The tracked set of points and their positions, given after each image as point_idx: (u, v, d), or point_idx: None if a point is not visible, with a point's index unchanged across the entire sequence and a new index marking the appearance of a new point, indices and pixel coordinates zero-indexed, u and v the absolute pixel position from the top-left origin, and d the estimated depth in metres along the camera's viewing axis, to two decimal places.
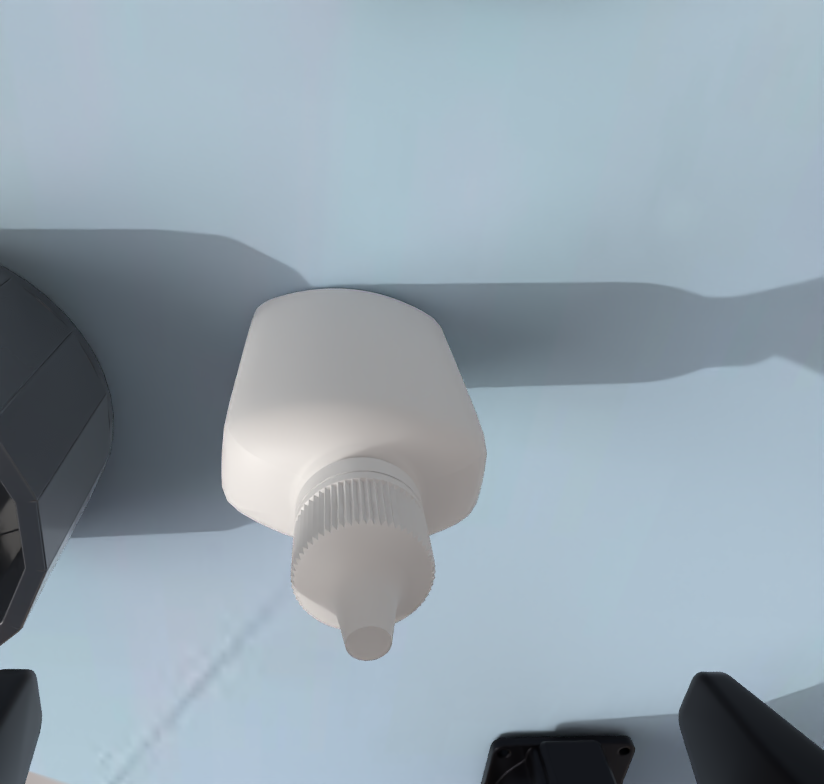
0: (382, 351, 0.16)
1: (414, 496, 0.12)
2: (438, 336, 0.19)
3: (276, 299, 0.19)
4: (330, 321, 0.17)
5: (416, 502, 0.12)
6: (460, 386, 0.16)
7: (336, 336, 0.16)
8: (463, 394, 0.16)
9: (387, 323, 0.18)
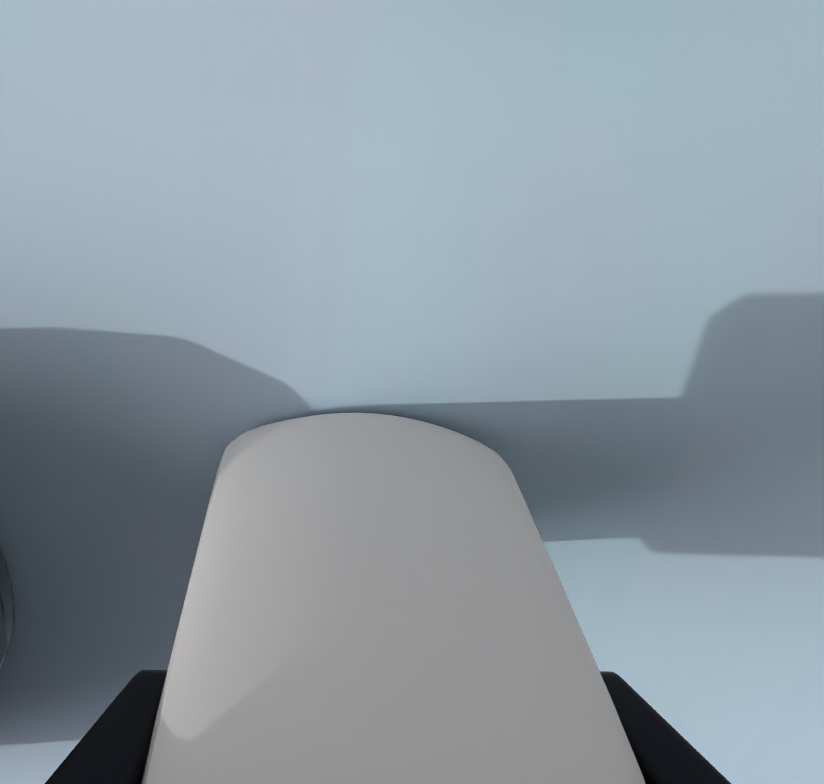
0: (441, 578, 0.09)
1: None
2: (515, 501, 0.12)
3: (257, 434, 0.12)
4: (344, 500, 0.10)
5: None
6: (577, 639, 0.09)
7: (358, 546, 0.09)
8: (588, 664, 0.09)
9: (438, 494, 0.11)
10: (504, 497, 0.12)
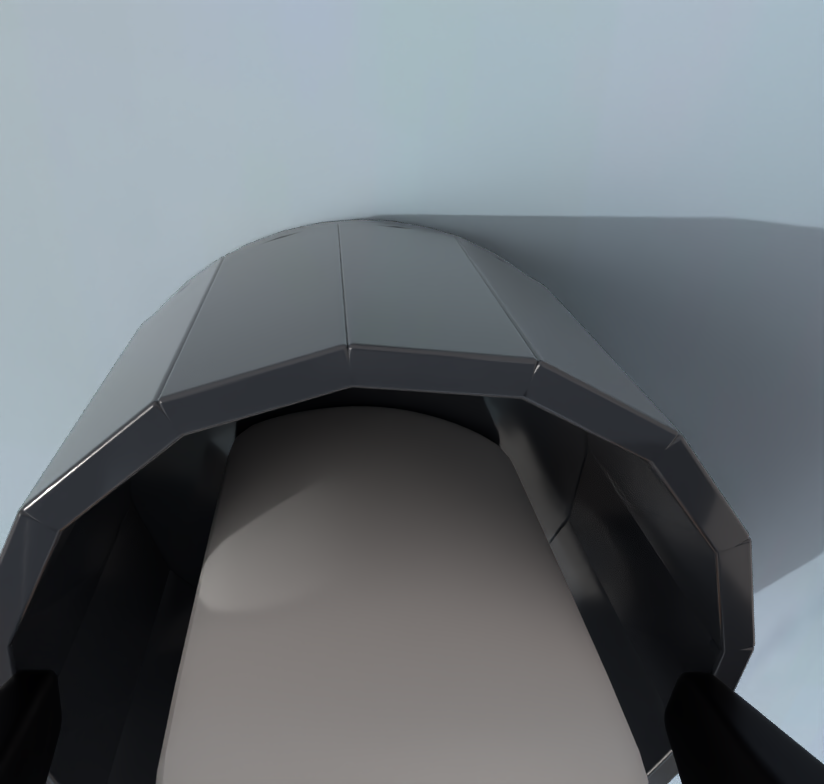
0: (445, 564, 0.09)
1: None
2: (516, 492, 0.12)
3: (265, 427, 0.13)
4: (351, 489, 0.11)
5: None
6: (576, 621, 0.10)
7: (364, 532, 0.10)
8: (586, 645, 0.09)
9: (442, 483, 0.11)
10: (505, 487, 0.12)
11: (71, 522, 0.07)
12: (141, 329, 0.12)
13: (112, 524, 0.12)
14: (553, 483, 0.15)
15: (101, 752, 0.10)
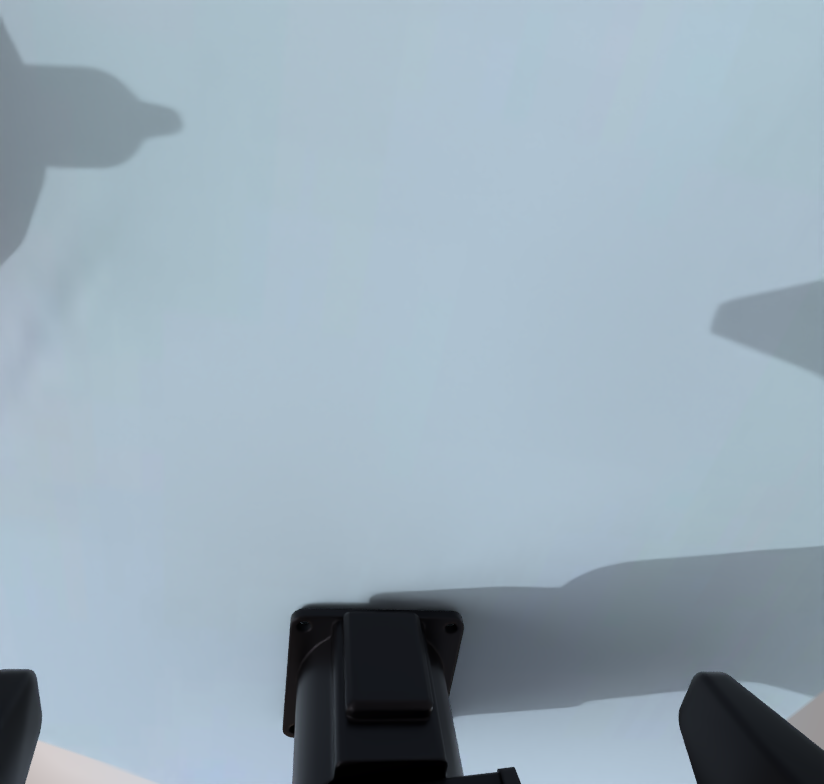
0: None
1: None
2: None
3: None
4: None
5: None
6: None
7: None
8: None
9: None
10: None
11: None
12: None
13: None
14: None
15: None
